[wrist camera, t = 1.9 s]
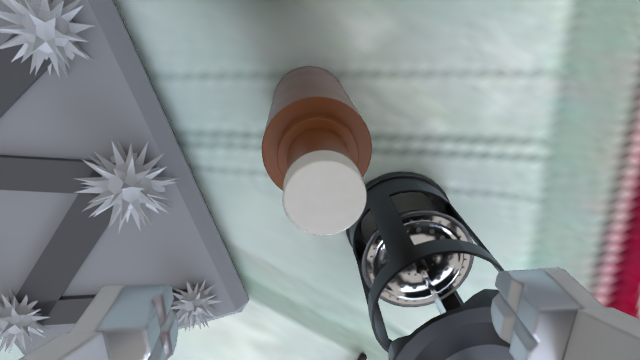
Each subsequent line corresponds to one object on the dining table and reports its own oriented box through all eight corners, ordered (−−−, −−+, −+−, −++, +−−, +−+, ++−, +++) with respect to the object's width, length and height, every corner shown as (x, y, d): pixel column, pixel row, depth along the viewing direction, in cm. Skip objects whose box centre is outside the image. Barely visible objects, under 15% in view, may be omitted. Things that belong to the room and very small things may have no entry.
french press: (319, 205, 35) (358, 500, 14) (413, 143, 34) (617, 372, 12) (390, 293, 39) (503, 627, 18) (476, 242, 38) (713, 542, 16)
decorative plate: (-190, 48, 28) (-336, 58, 22) (98, -50, 27) (35, -70, 21) (44, 357, 40) (-6, 426, 33) (253, 298, 39) (245, 357, 32)
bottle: (345, 65, 31) (403, 126, 15) (344, 137, 33) (393, 259, 17) (271, 66, 31) (244, 129, 14) (274, 138, 33) (255, 265, 16)
